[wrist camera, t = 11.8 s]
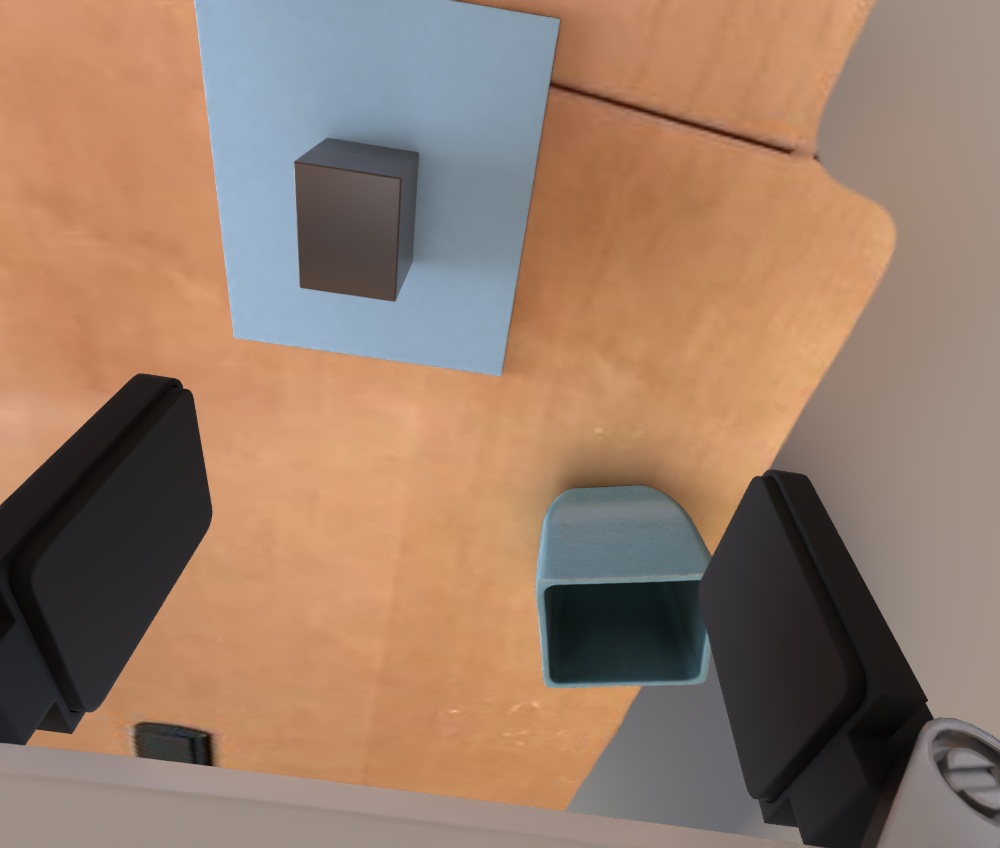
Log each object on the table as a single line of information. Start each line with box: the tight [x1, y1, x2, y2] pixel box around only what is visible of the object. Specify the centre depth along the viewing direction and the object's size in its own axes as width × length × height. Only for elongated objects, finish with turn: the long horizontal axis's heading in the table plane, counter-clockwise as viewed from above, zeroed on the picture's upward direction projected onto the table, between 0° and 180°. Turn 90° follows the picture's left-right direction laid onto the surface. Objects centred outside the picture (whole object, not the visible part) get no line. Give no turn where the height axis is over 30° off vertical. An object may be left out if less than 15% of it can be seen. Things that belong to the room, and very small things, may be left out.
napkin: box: [194, 0, 560, 376], centre depth 28 cm, size 16×14×1 cm
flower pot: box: [535, 485, 712, 688], centre depth 35 cm, size 9×9×9 cm
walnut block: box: [293, 138, 419, 302], centre depth 26 cm, size 5×4×4 cm
